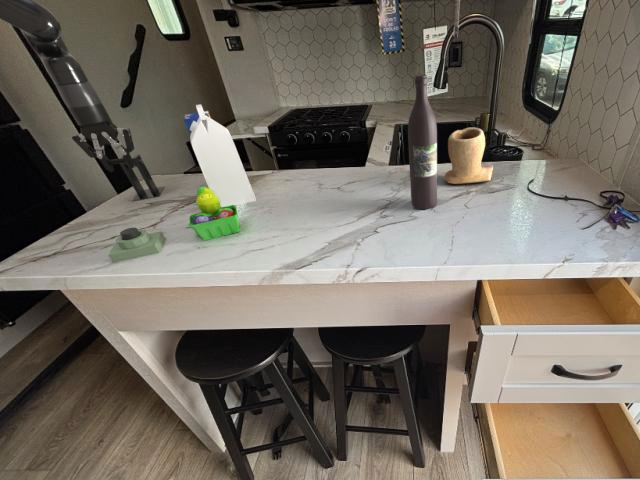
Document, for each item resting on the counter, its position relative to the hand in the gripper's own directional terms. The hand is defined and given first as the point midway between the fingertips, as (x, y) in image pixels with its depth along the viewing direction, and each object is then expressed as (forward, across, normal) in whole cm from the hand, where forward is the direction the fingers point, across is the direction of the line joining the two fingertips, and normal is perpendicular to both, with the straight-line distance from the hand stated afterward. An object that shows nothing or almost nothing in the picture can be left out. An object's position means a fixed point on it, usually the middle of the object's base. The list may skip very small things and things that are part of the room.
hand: (122, 169), depth 99 cm
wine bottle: (+12, -79, +41) cm, 90 cm away
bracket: (+12, 0, -10) cm, 15 cm away
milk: (+12, -28, +8) cm, 32 cm away
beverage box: (+12, -24, -8) cm, 28 cm away
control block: (+12, -6, +32) cm, 35 cm away
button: (+9, -6, +32) cm, 34 cm away
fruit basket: (+12, -25, +31) cm, 42 cm away
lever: (0, 0, -5) cm, 5 cm away
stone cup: (+12, -98, +32) cm, 104 cm away
